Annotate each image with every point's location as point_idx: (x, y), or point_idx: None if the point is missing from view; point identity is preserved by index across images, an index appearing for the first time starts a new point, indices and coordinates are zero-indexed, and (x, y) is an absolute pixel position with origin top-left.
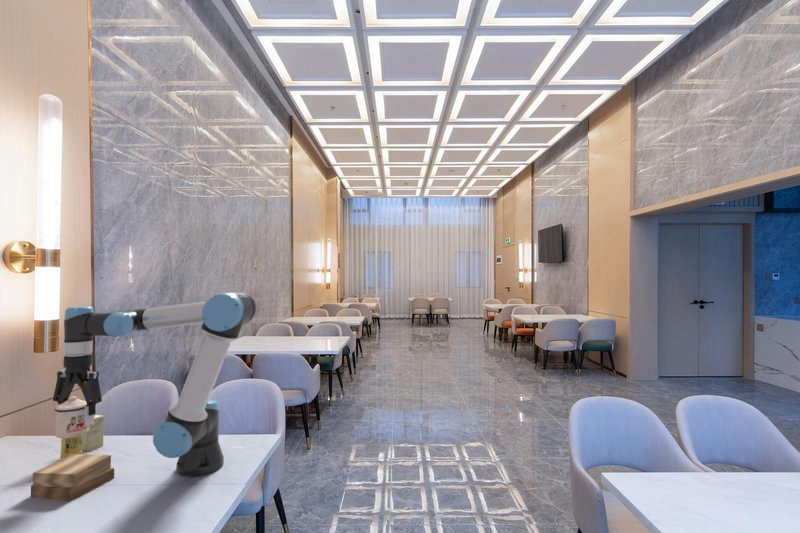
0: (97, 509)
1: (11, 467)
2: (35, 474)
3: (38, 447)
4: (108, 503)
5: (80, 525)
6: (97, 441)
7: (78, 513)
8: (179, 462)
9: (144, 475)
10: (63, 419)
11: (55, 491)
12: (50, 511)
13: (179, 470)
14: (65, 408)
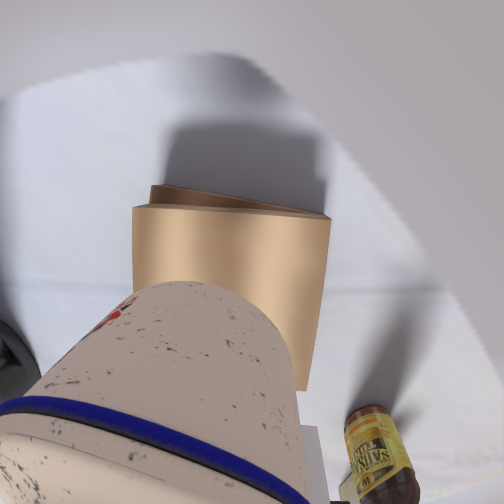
0: (63, 150)
1: (487, 374)
2: (318, 218)
3: (476, 453)
4: (57, 181)
5: (59, 82)
6: (348, 492)
7: (94, 125)
8: (15, 362)
9: (79, 338)
10: (114, 349)
11: (219, 195)
12: (178, 126)
13: (3, 331)
14: (30, 440)
